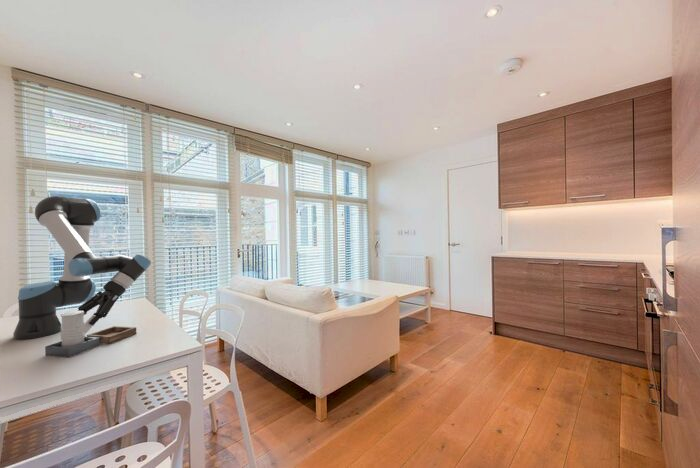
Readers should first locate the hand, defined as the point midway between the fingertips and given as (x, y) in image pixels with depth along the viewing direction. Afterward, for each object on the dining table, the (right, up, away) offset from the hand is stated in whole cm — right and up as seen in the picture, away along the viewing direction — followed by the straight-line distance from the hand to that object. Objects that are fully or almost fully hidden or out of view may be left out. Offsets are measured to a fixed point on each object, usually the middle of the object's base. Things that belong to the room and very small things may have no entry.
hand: (74, 329), depth 113 cm
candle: (-1, -9, 0) cm, 9 cm away
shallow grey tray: (-1, -9, 0) cm, 9 cm away
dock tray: (+4, -8, +14) cm, 17 cm away
